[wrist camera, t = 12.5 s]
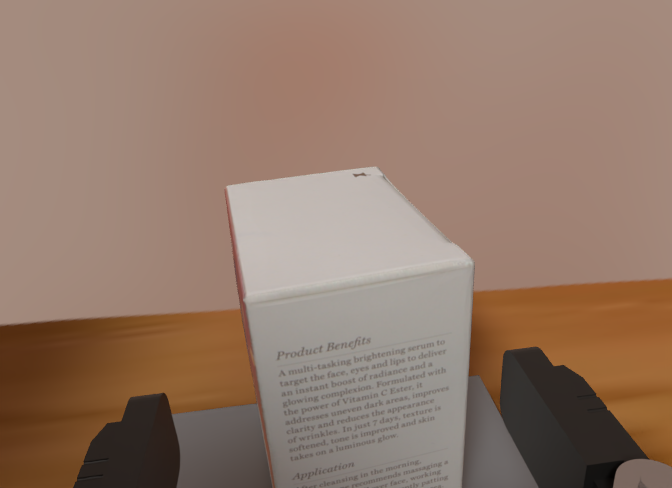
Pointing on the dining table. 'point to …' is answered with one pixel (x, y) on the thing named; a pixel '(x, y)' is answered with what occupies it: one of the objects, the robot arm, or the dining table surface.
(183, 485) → the slate tile
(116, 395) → the dining table surface
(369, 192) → the small box
